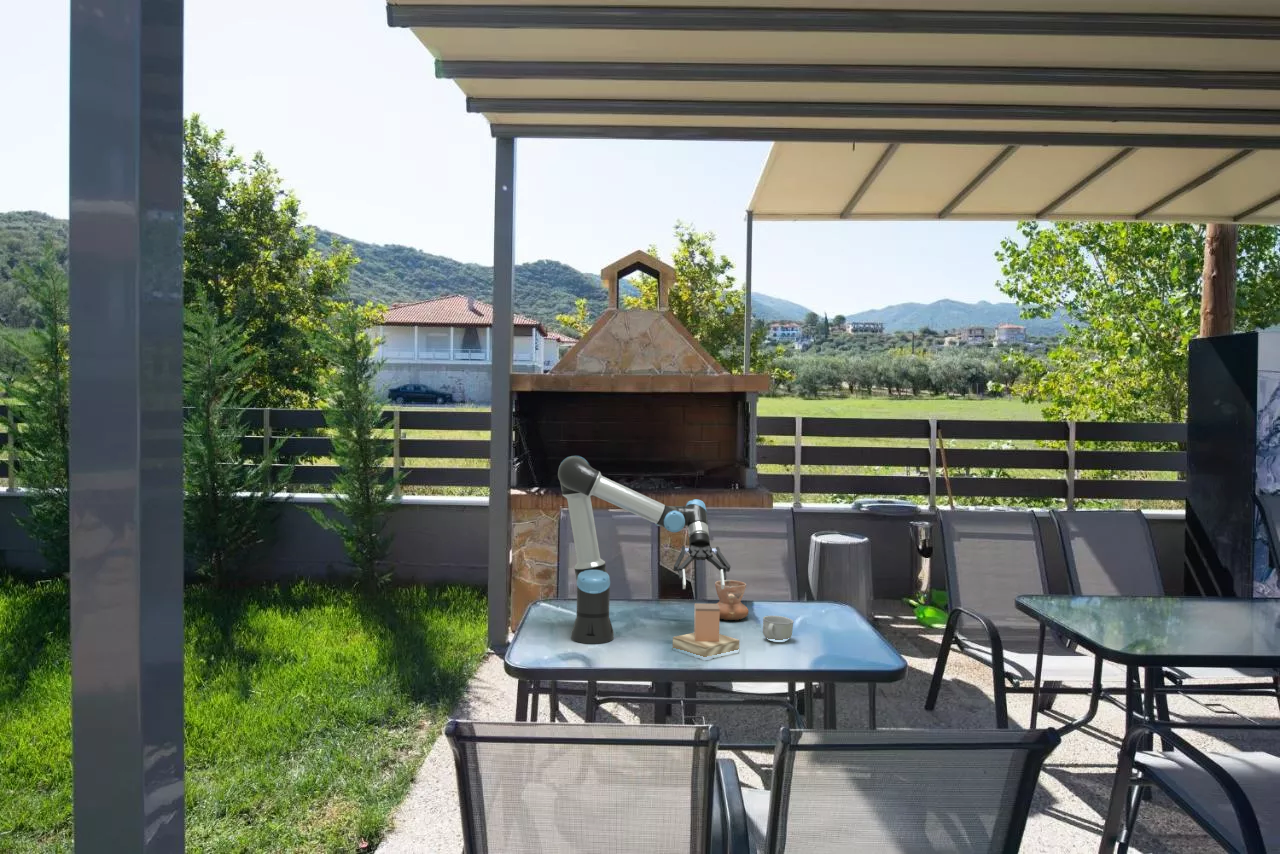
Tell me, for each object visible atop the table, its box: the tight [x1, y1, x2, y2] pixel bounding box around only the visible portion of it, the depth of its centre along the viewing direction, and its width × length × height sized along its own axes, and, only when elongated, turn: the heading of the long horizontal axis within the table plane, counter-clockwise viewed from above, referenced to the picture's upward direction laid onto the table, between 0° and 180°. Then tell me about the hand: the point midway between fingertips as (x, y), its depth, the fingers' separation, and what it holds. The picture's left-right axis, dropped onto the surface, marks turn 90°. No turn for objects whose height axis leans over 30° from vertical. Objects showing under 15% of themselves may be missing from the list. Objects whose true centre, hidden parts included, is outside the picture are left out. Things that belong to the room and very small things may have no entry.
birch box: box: [672, 632, 740, 657], centre depth 298 cm, size 16×16×5 cm
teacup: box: [762, 615, 794, 640], centre depth 312 cm, size 14×11×8 cm
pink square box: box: [693, 602, 721, 642], centre depth 298 cm, size 8×8×11 cm
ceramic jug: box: [714, 579, 749, 621], centre depth 346 cm, size 18×14×14 cm
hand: (703, 587), depth 306 cm, fingers open, 13 cm apart
